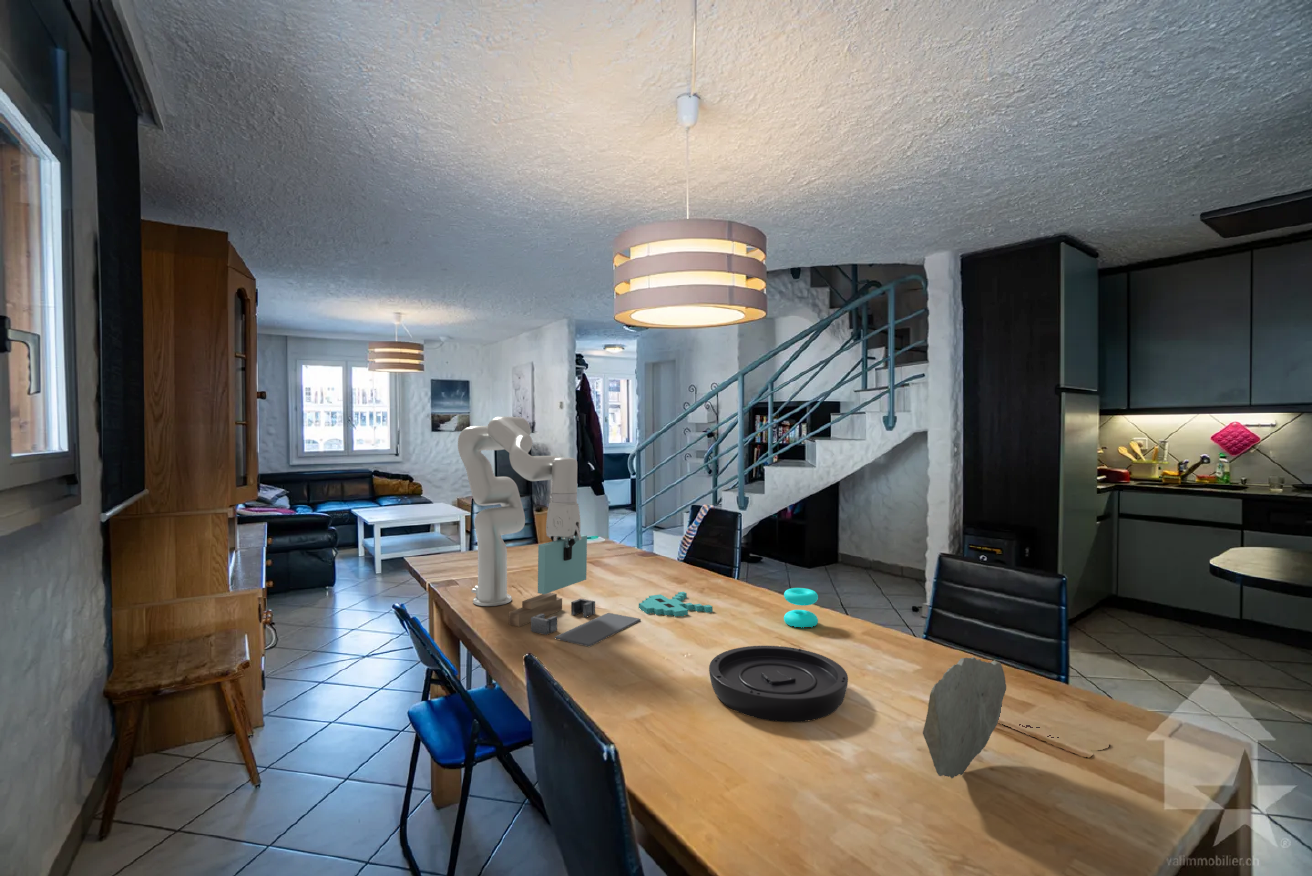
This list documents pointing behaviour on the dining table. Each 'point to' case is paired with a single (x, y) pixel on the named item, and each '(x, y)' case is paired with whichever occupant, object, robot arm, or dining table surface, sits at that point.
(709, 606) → the alien figure
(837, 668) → the round tray
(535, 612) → the offcut stack
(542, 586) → the teal sheet
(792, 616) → the donuts
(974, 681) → the rock
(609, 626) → the rubber mat
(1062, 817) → the dining table surface
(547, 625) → the slab rack
